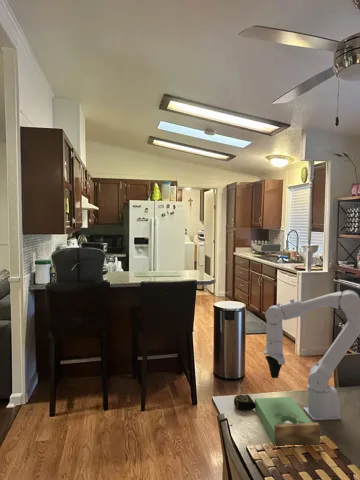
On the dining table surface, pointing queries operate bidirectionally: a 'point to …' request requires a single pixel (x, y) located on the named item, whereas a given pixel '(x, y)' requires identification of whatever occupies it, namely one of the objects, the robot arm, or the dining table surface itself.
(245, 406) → the tape measure
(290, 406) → the green
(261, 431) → the dining table surface
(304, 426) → the end rail
